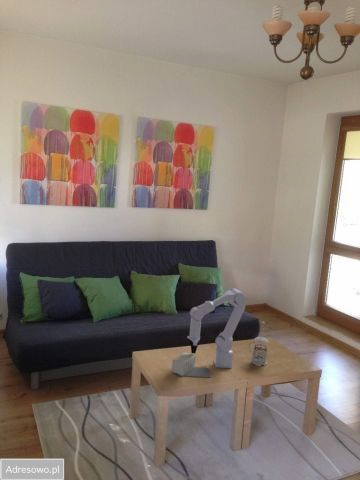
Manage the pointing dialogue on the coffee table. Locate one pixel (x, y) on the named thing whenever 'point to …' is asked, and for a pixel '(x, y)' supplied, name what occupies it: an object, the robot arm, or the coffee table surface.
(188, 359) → the supplement box
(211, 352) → the coffee table surface
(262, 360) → the french press
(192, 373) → the mat
